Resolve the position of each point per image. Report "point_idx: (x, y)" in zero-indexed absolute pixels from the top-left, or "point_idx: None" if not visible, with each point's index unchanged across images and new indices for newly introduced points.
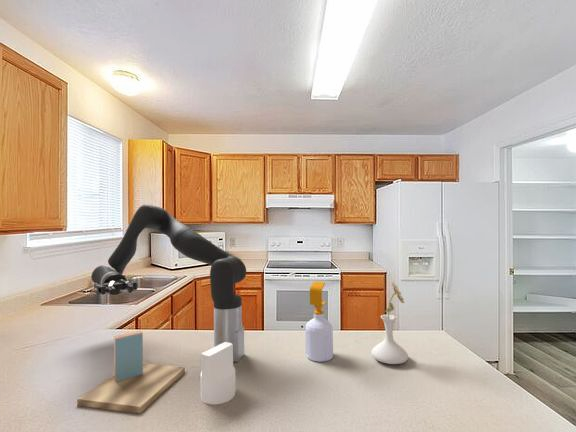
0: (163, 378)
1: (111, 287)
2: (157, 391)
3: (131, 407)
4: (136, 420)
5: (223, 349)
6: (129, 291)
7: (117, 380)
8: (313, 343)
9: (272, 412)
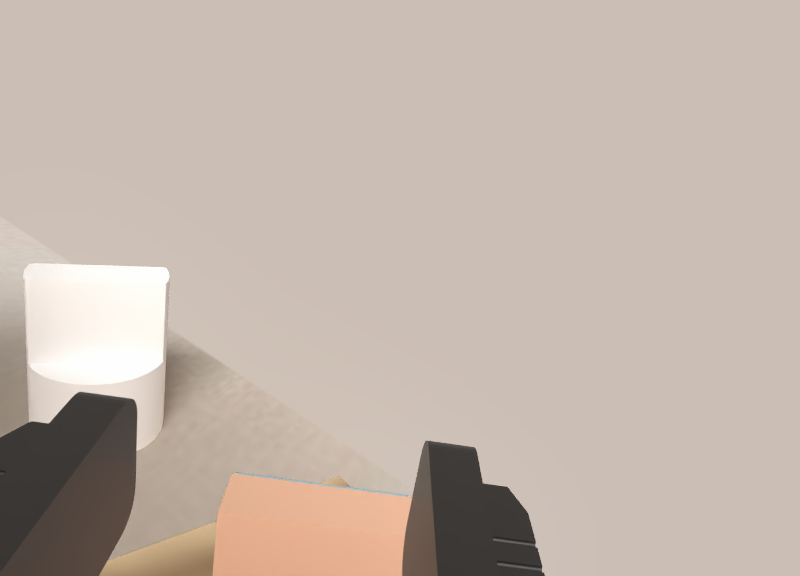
0: (169, 573)
1: (492, 537)
2: None
3: None
4: (355, 478)
5: (90, 267)
6: (134, 484)
7: None
8: None
9: None
